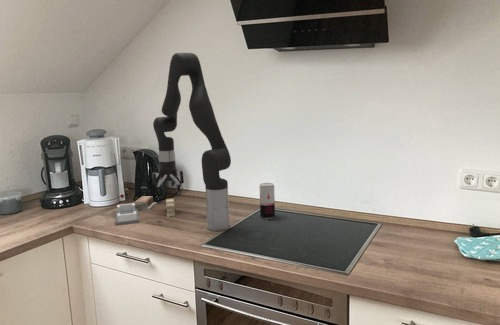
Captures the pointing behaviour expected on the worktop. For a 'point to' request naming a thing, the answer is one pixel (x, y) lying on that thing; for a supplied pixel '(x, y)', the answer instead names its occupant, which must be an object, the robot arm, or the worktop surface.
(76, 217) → the worktop surface
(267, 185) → the beverage can
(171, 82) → the robot arm
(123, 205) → the board
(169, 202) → the slat
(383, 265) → the worktop surface
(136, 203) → the packaged product
